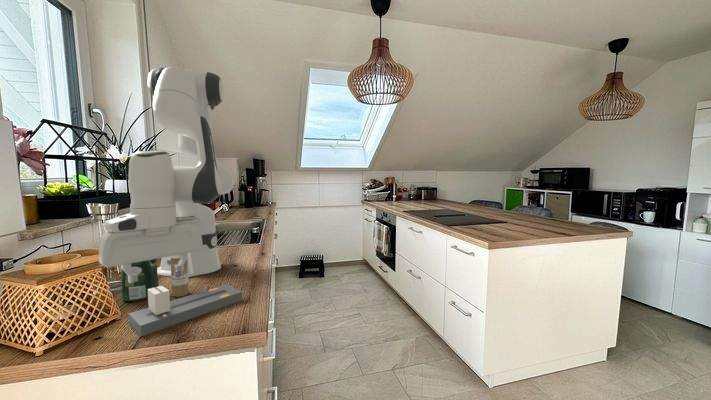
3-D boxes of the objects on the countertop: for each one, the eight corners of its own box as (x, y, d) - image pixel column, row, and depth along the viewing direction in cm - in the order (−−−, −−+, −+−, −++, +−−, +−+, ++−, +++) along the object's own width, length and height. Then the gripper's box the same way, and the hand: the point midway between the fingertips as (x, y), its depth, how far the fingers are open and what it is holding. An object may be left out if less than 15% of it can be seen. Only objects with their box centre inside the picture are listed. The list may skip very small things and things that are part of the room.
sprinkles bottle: (172, 298, 82) (170, 253, 81) (171, 293, 86) (169, 249, 85) (190, 294, 85) (188, 250, 84) (188, 289, 89) (187, 247, 88)
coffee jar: (132, 290, 88) (129, 231, 86) (162, 288, 90) (159, 230, 89) (116, 304, 78) (112, 238, 77) (149, 300, 81) (146, 236, 79)
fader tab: (155, 315, 66) (154, 294, 66) (148, 309, 69) (147, 288, 69) (170, 310, 69) (169, 290, 68) (162, 304, 72) (161, 285, 71)
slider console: (140, 336, 63) (140, 325, 62) (129, 323, 68) (128, 313, 68) (242, 300, 81) (242, 291, 81) (226, 292, 87) (226, 284, 87)
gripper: (195, 214, 77) (197, 264, 78) (94, 223, 61) (98, 285, 62) (205, 215, 73) (208, 268, 74) (101, 225, 57) (105, 292, 58)
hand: (157, 276), depth 68 cm, fingers open, 8 cm apart
